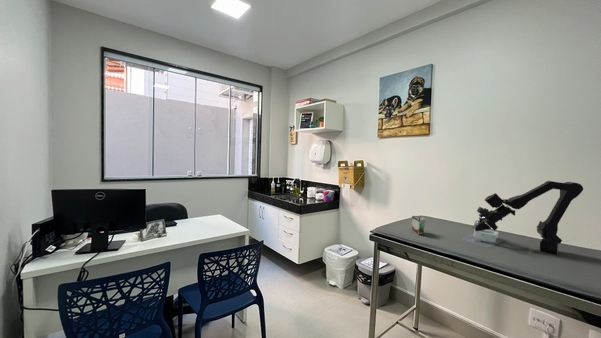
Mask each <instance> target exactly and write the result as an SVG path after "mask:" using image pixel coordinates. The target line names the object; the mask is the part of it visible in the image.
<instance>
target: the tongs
mask: <svg viewBox="0 0 601 338" xmlns="http://www.w3.org/2000/svg"><path fill="white" fill-rule="evenodd" d="M480 224H482V223H481V222H479V220H478V219H477V220H475V221H474V222H473V233H474V239H473V240H474V241H476V242H480V240H481V231H475V229H476V228H477V227H478V226H479V225H480Z"/></svg>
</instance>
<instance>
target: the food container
mask: <svg viewBox="0 0 601 338" xmlns="http://www.w3.org/2000/svg"><path fill="white" fill-rule="evenodd" d="M426 220H427V219H426V218H425V217H422V216H419V215H411V231H412V232H413V233H415V234H416V235H417V236H423V235H424V233H425V232H424V231H425V225H426V223H427V221H426Z"/></svg>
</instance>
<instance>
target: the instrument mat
mask: <svg viewBox="0 0 601 338" xmlns="http://www.w3.org/2000/svg"><path fill="white" fill-rule="evenodd" d="M473 239H474V232H473V233H471V234H470V233H469V234H468V235H465V236H462V237H460V238H458V239H457V240H458V241H462V242H466V243H469V244H472V245H477V246H480V247H483V248H487V249H490V248H492V247H493V246H495V245H497V244H500V243H502V242H504V241H506V238H503V237H498V239H497V240H496V242H492V241H488V240H483V239H481V240H480V242H476V241H474V240H473Z"/></svg>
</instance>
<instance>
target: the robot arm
mask: <svg viewBox="0 0 601 338" xmlns="http://www.w3.org/2000/svg"><path fill="white" fill-rule="evenodd" d="M551 190H559V197H558V199H557V201H556V203H555V204H554V206H553V207H552V209H551V211H550V213H549V214H548V217H547V219H546V220H544V221H542V220H540V221H539V222H538V224H537V226H536V232H537V234H539V235H540V237H541V238H542V239H541V240H540V241H539V251H541V252H545V253H549V254H552V255H558V254H559V253H560V251H559V250H560V244H561V243H562V241H563V240H562V238H560V237H559V236H558V235H557V234H558V232H559V231H558V230H559V229H558V228H559V227H558V226H559V224H560V222H561V219H562V218H563V216H564V214H565V212H566V211H567V209H568V207H569V206H570V204H571V203H572V201H573V200H574V199H576V198H577V197H578V196H580V194H581V193H582V192H583V190H584V186H583V185H582V184H581V183H578V182H573V181H565V182H558V181H553V180H547V181H545V182H544V183H542V184H540V185H538V186H536V187H534V188H532V189H530V190H529V191H526V192H525V193H523V194H520V195H519V194H518V195H514V196H512V197H509V198H508V199H504V198H503V199H502V198H501V197H500V196H499V195H498V194H497V193H492V194H490V195H488V196H486V198H485V199H484V202H485V203H487V204H488V206H490V207H491V208H493V210H489V209H488V208H486V207H485V208H483V207H481V206H478V208H477V209H476V212H477V214H478V216H479V217H478V219H479V220H478V221H479V222H481V223H482V224H480V225H479V226H478V227H477V228H476V229H475V231H481V230H492V231H496V230H497V229H498V228H499V226H498V225H497V222H499V221H503V219H504V218H505V217H507V216H508V215H510V214H511V215H512V216H516V212H517V211H516V210H521V209H522V208H524V207H525V206H526V205H527V204H528V203H529V202H531V201H532V200H534V199H536V198H539V197H540V196H542V195H544V194H546V193H547V192H550V191H551ZM494 208H495V209H494Z"/></svg>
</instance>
